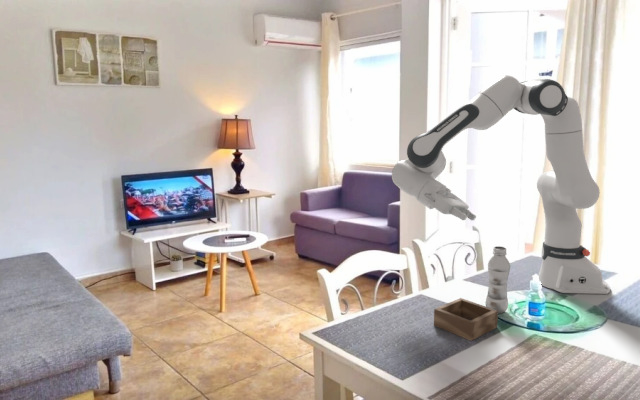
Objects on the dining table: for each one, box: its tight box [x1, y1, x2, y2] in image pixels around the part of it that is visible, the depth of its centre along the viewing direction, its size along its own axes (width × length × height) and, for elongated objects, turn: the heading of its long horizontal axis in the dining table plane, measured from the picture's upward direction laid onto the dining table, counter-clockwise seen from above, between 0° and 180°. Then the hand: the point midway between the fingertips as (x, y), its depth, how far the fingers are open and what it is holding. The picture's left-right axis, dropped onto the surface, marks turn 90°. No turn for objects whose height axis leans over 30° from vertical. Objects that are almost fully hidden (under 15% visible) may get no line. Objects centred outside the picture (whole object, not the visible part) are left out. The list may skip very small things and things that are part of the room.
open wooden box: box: [433, 297, 499, 342], centre depth 141 cm, size 12×12×5 cm
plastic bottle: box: [485, 245, 511, 314], centre depth 150 cm, size 6×7×20 cm
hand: (470, 218), depth 154 cm, fingers open, 8 cm apart
